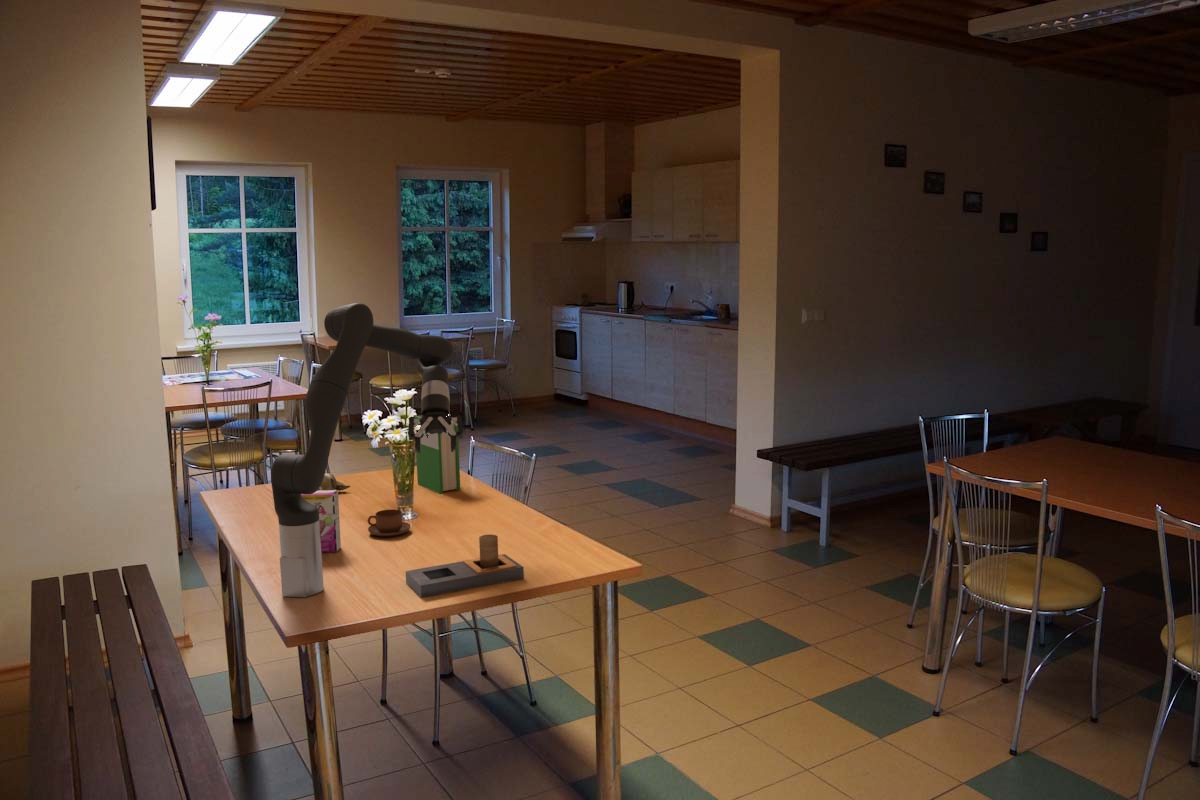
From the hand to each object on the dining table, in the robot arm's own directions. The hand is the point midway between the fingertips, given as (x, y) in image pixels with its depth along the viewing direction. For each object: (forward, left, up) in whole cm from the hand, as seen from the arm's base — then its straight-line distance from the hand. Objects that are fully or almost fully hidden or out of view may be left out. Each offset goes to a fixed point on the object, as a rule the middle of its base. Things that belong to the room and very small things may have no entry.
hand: (435, 450), depth 252 cm
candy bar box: (-1, +35, -29) cm, 45 cm away
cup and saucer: (+18, +23, -29) cm, 41 cm away
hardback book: (+72, +29, -29) cm, 83 cm away
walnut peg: (-13, -18, -28) cm, 36 cm away
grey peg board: (-18, -13, -28) cm, 36 cm away
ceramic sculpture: (+59, +64, -29) cm, 92 cm away
